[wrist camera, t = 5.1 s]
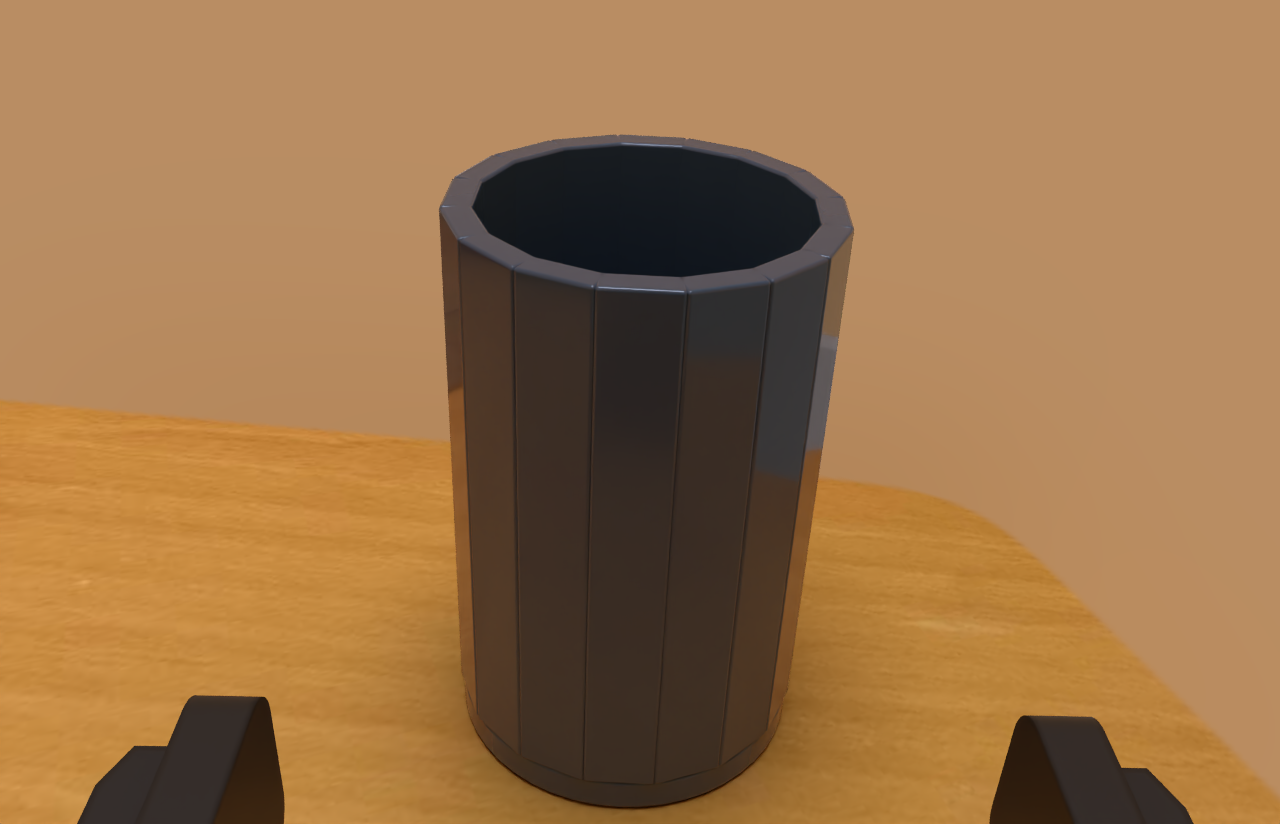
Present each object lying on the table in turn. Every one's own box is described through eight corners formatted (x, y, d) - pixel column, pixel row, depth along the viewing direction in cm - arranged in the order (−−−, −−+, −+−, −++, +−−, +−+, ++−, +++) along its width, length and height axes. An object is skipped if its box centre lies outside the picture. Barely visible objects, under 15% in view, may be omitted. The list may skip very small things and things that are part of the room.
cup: (822, 634, 25) (895, 175, 20) (714, 858, 20) (773, 329, 15) (558, 548, 27) (561, 113, 22) (401, 734, 22) (358, 231, 17)
